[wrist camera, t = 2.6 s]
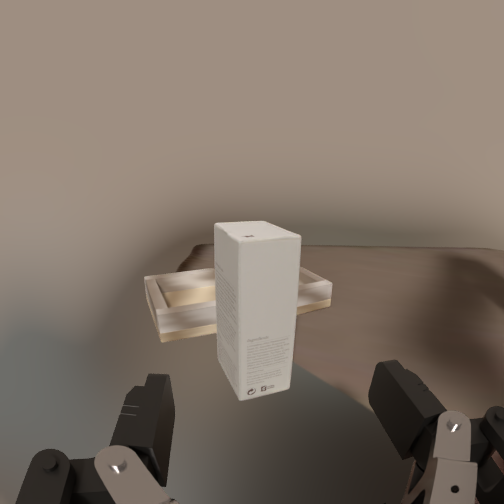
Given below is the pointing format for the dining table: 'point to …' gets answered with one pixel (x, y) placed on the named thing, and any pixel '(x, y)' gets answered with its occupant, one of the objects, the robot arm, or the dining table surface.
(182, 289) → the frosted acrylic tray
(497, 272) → the dining table surface
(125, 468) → the robot arm
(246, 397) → the skincare box
